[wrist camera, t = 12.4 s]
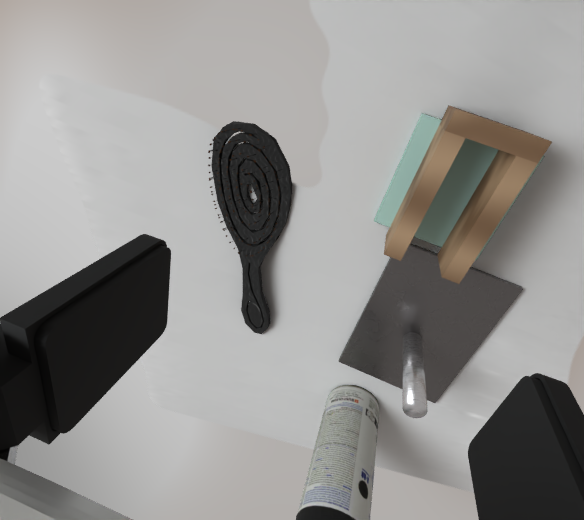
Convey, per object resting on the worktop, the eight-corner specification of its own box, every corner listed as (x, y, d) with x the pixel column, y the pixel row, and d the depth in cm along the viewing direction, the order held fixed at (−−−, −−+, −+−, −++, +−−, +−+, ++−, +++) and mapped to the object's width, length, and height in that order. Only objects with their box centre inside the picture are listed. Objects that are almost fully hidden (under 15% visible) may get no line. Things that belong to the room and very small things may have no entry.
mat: (422, 113, 29) (422, 113, 29) (542, 154, 28) (544, 156, 28) (374, 219, 34) (374, 221, 34) (474, 257, 33) (476, 260, 33)
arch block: (448, 105, 28) (455, 108, 24) (531, 133, 27) (552, 141, 24) (386, 235, 34) (384, 254, 30) (452, 260, 33) (459, 284, 29)
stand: (399, 239, 34) (397, 291, 26) (521, 286, 33) (562, 357, 25) (339, 358, 43) (323, 427, 34) (434, 399, 42) (442, 482, 33)
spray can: (361, 429, 47) (337, 629, 30) (317, 403, 47) (268, 587, 30) (389, 402, 44) (380, 609, 27) (342, 374, 44) (302, 562, 27)
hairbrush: (221, 338, 44) (191, 122, 31) (233, 319, 47) (210, 116, 34) (285, 350, 42) (281, 125, 29) (293, 330, 45) (292, 119, 32)
